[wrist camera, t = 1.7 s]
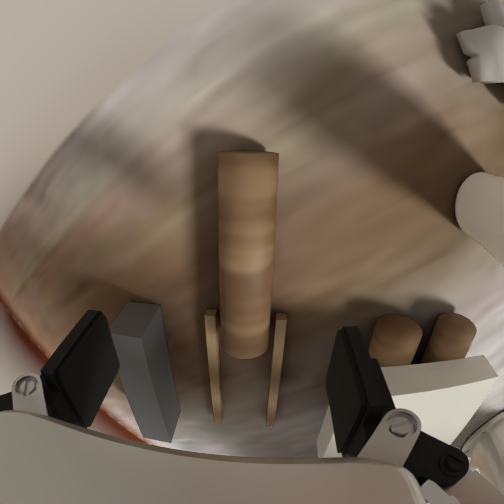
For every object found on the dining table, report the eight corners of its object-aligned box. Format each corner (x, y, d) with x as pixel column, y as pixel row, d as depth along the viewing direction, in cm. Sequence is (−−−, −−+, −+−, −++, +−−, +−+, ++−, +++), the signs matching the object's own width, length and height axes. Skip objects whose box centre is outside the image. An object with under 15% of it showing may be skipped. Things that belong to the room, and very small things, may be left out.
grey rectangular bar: (180, 410, 29) (171, 442, 25) (154, 406, 29) (143, 437, 25) (160, 304, 24) (141, 338, 20) (128, 301, 24) (105, 332, 20)
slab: (441, 424, 23) (449, 445, 20) (316, 441, 24) (318, 466, 21) (483, 355, 19) (498, 376, 17) (339, 368, 20) (346, 399, 17)
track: (416, 410, 28) (426, 435, 24) (215, 415, 29) (210, 444, 25) (463, 311, 22) (483, 336, 19) (207, 309, 24) (196, 340, 20)
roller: (268, 330, 24) (268, 360, 21) (224, 328, 24) (218, 357, 21) (277, 151, 19) (280, 155, 16) (222, 150, 19) (213, 154, 16)
